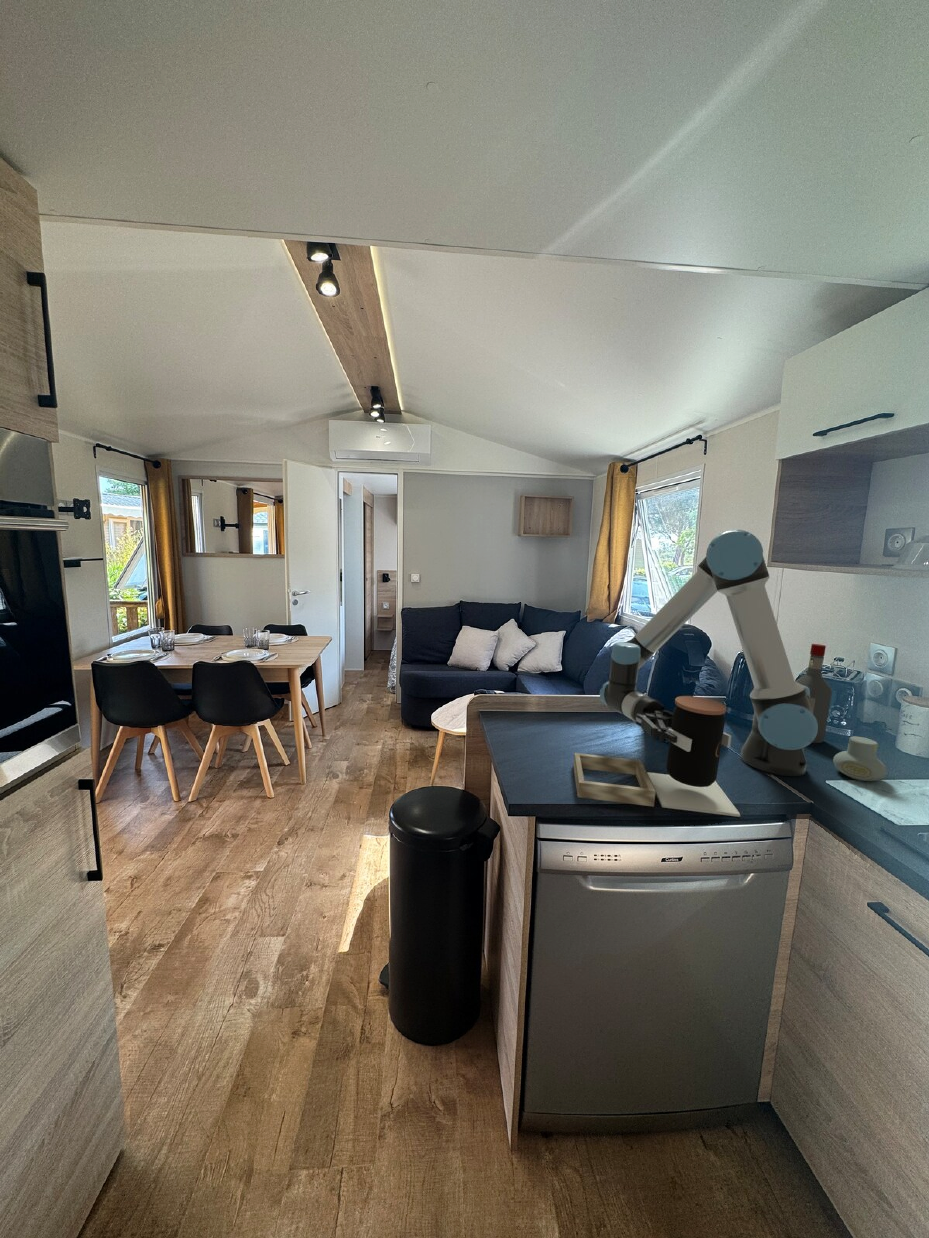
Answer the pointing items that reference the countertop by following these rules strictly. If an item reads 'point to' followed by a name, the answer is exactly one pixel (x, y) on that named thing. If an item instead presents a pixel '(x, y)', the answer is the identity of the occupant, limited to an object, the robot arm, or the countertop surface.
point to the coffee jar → (696, 740)
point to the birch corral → (613, 791)
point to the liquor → (817, 690)
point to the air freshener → (860, 760)
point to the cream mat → (691, 796)
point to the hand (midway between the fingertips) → (709, 743)
